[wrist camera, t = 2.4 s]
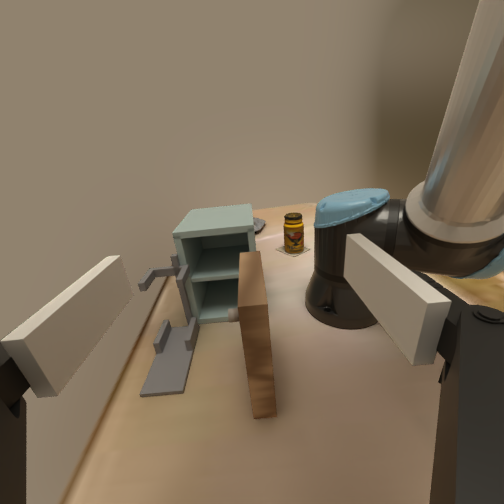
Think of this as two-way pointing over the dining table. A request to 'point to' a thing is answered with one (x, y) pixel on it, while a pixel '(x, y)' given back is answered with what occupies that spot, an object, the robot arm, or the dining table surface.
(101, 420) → the dining table surface
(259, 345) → the door
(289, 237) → the condiment
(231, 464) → the dining table surface
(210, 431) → the dining table surface
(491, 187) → the robot arm
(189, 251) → the cabinet
